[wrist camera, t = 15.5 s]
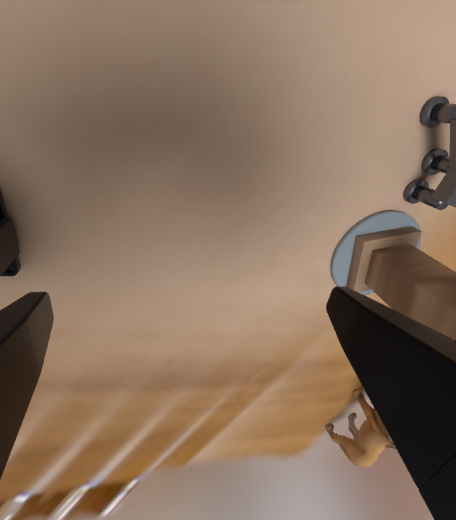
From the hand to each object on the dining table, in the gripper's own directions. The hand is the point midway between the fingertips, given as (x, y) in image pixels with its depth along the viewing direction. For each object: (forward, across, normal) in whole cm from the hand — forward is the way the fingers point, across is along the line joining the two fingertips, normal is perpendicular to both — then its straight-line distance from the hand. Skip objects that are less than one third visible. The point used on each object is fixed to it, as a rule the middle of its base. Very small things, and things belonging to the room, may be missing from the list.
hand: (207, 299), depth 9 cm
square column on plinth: (+12, -19, +5) cm, 23 cm away
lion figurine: (+13, -27, +30) cm, 43 cm away
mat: (+13, -19, +6) cm, 24 cm away
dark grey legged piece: (+13, -20, -4) cm, 24 cm away
